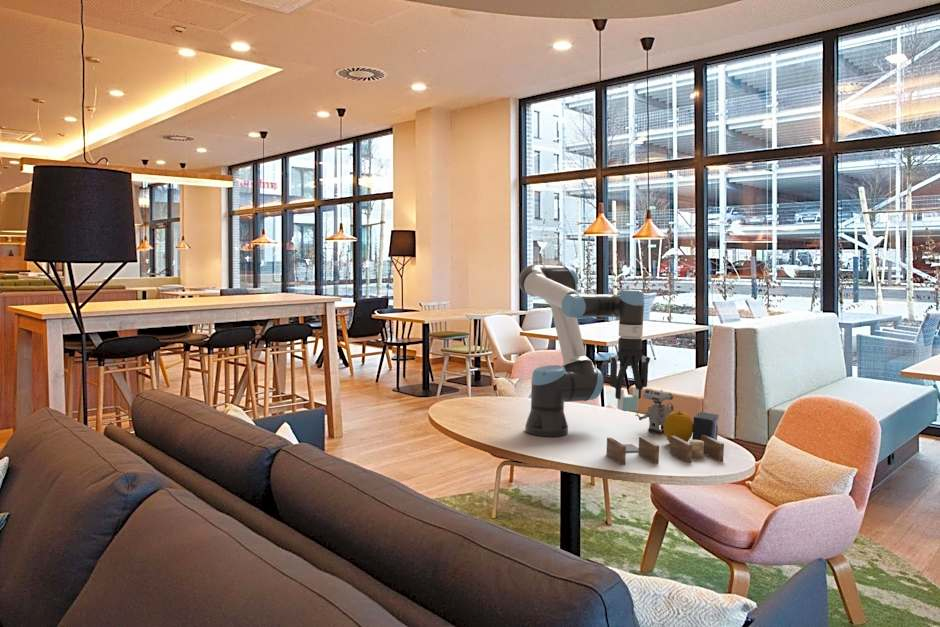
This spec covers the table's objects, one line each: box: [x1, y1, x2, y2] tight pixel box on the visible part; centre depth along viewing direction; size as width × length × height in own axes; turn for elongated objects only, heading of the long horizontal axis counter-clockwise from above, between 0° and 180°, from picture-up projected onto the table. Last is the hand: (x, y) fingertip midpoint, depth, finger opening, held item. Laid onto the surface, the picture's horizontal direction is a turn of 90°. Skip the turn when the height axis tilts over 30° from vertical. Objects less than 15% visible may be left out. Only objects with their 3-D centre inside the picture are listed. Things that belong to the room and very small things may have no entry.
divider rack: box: [606, 435, 725, 466], centre depth 215 cm, size 34×11×6 cm, turn 102°
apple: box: [662, 410, 693, 444], centre depth 231 cm, size 10×10×12 cm
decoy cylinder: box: [688, 439, 704, 460], centre depth 217 cm, size 4×4×5 cm
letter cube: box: [621, 394, 639, 412], centre depth 223 cm, size 4×4×5 cm
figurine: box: [635, 388, 675, 435], centre depth 251 cm, size 9×12×15 cm
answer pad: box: [621, 443, 639, 454], centre depth 225 cm, size 8×8×1 cm
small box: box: [691, 411, 719, 441], centre depth 231 cm, size 11×6×10 cm, turn 149°
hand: (627, 408), depth 223 cm, fingers closed on letter cube, 4 cm apart
